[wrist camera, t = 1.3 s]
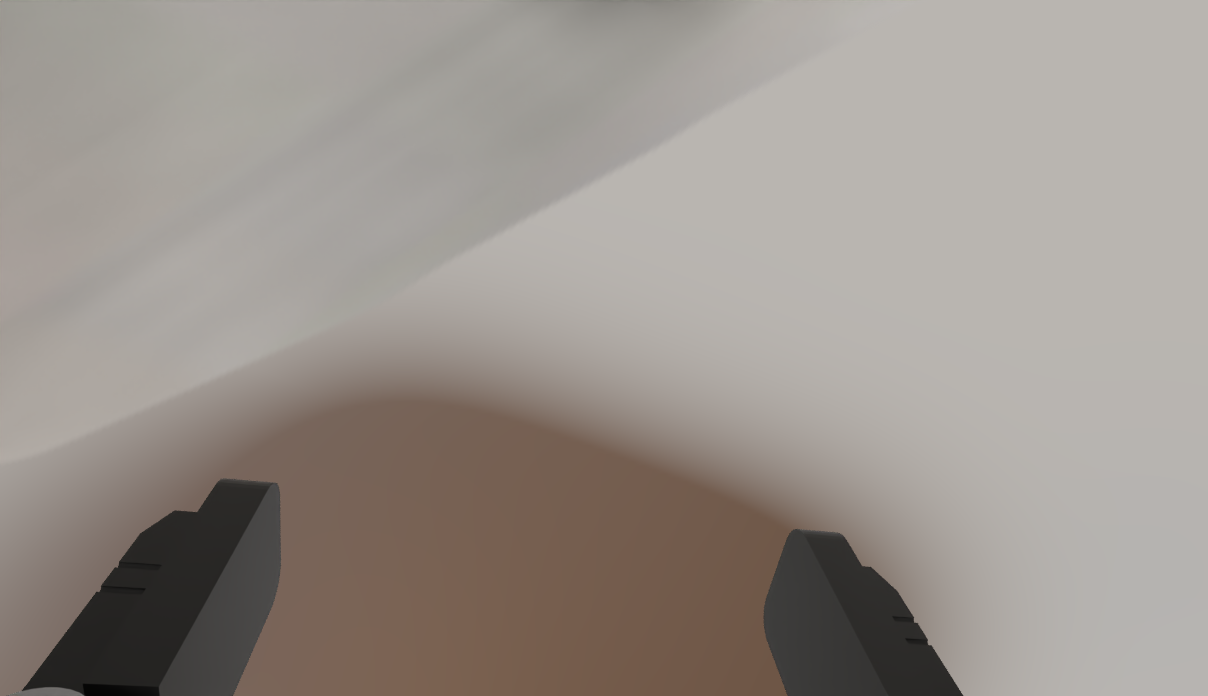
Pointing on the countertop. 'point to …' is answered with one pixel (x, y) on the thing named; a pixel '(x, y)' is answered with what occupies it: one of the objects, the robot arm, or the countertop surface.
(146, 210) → the countertop surface
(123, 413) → the countertop surface
